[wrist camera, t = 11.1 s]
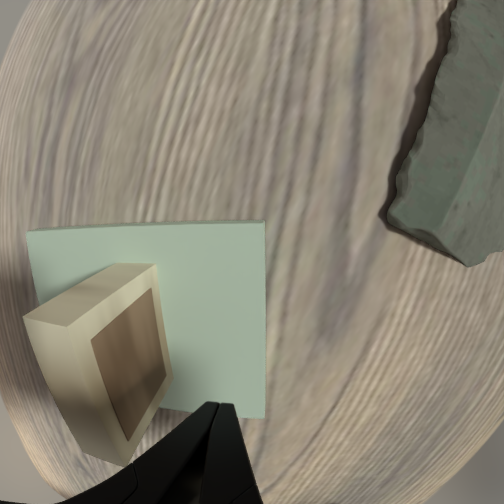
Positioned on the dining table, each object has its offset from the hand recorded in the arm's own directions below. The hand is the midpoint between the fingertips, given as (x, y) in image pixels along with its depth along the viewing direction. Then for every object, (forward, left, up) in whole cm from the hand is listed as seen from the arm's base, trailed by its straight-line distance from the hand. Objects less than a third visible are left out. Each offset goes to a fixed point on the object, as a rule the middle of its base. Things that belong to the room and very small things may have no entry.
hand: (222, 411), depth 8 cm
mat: (0, +5, -6) cm, 8 cm away
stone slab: (+13, -15, -6) cm, 21 cm away
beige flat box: (0, +4, -4) cm, 6 cm away
